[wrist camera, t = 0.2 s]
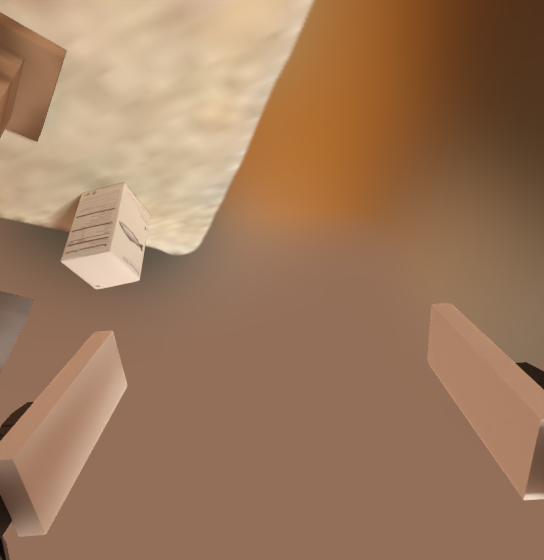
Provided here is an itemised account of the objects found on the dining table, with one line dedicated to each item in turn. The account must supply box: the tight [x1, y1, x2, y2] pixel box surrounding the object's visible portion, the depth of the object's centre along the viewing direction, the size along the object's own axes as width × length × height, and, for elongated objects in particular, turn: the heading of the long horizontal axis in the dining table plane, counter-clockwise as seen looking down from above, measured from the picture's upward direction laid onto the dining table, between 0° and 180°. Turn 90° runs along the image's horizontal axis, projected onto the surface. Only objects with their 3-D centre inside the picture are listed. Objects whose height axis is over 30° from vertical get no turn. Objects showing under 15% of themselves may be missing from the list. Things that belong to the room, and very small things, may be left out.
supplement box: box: [61, 183, 150, 289], centre depth 54 cm, size 7×7×13 cm
